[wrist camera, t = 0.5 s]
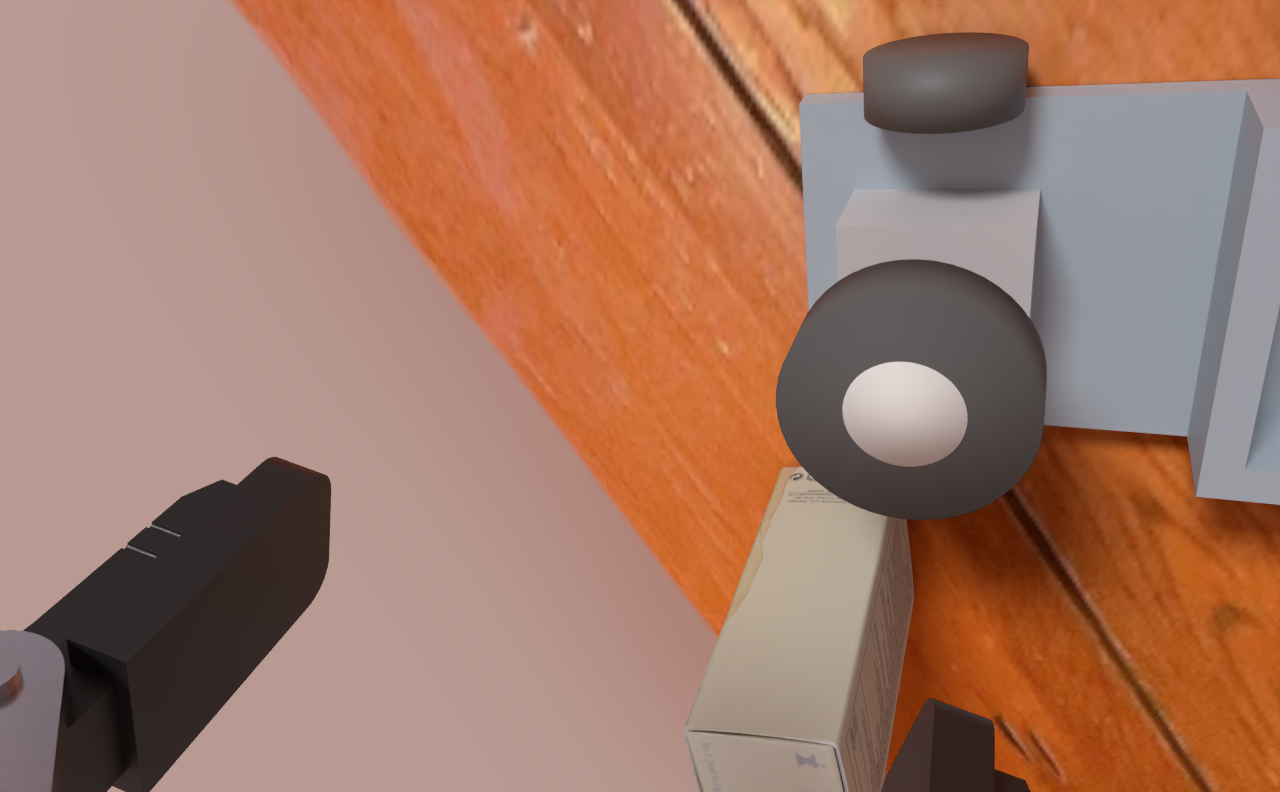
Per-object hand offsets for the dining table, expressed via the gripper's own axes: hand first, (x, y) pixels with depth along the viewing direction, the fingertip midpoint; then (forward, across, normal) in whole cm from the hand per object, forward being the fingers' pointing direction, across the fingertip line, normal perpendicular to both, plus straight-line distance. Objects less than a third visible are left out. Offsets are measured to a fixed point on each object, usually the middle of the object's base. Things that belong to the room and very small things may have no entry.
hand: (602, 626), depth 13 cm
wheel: (+14, -4, +2) cm, 15 cm away
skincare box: (+22, -5, +13) cm, 26 cm away
